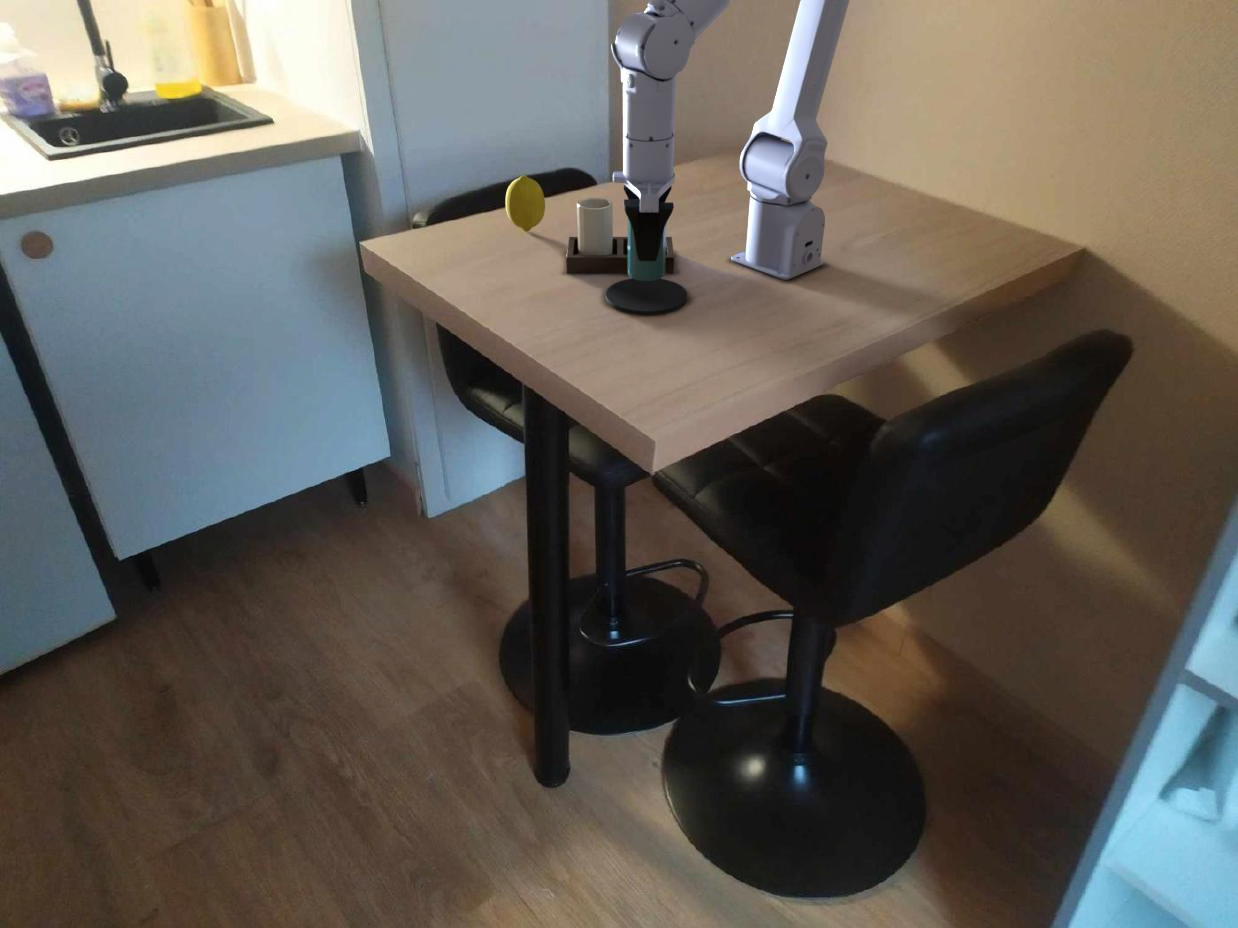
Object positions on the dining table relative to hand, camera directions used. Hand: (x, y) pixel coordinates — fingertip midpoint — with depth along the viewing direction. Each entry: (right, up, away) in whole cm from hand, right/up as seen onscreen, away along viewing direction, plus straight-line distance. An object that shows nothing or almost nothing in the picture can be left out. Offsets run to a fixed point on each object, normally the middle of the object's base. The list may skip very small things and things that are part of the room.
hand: (646, 251), depth 110 cm
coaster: (0, -5, +3) cm, 6 cm away
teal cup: (0, -2, +2) cm, 3 cm away
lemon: (-17, +8, +22) cm, 29 cm away
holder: (-3, +1, +12) cm, 13 cm away
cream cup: (-6, +1, +12) cm, 14 cm away
